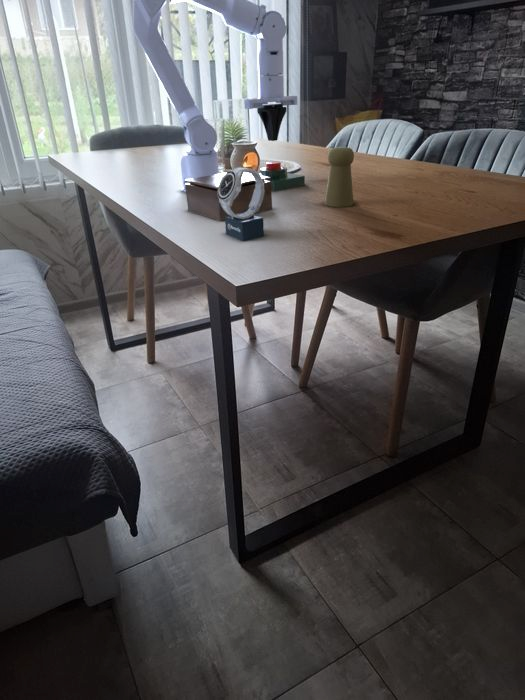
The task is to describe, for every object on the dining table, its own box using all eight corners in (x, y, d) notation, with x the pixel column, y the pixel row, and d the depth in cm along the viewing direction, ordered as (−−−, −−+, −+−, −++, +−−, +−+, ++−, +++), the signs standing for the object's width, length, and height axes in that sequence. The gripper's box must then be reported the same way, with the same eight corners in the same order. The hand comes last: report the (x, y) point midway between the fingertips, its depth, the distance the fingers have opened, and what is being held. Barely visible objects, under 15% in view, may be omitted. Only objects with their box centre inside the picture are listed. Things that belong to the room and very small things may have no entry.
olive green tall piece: (352, 207, 98) (356, 149, 93) (323, 206, 100) (324, 149, 94) (354, 200, 104) (357, 145, 98) (325, 200, 105) (327, 145, 99)
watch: (216, 236, 84) (210, 169, 79) (254, 227, 88) (251, 163, 82) (233, 243, 80) (228, 173, 75) (272, 234, 84) (270, 167, 78)
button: (263, 170, 120) (263, 162, 119) (274, 168, 122) (274, 160, 121) (272, 171, 118) (272, 164, 117) (283, 169, 120) (283, 162, 119)
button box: (243, 185, 123) (242, 168, 121) (273, 179, 128) (273, 163, 126) (274, 191, 115) (273, 173, 113) (304, 185, 120) (304, 168, 118)
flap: (235, 172, 105) (235, 170, 105) (270, 179, 97) (270, 177, 97) (211, 176, 102) (211, 174, 101) (245, 183, 93) (245, 181, 93)
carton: (237, 200, 108) (235, 170, 105) (272, 209, 100) (271, 177, 97) (187, 211, 101) (184, 179, 98) (220, 221, 93) (217, 187, 90)
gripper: (256, 76, 103) (259, 144, 110) (306, 74, 111) (306, 138, 118) (237, 77, 108) (241, 142, 115) (286, 75, 116) (286, 136, 122)
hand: (272, 140), depth 116 cm, fingers closed
